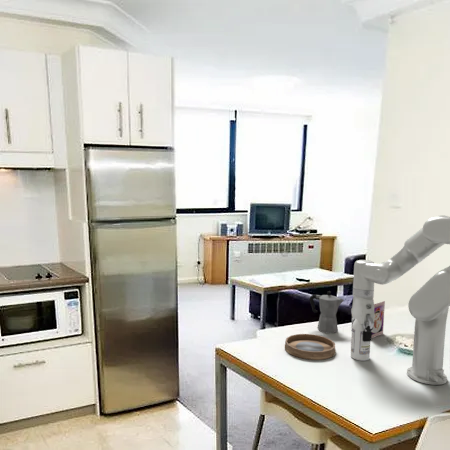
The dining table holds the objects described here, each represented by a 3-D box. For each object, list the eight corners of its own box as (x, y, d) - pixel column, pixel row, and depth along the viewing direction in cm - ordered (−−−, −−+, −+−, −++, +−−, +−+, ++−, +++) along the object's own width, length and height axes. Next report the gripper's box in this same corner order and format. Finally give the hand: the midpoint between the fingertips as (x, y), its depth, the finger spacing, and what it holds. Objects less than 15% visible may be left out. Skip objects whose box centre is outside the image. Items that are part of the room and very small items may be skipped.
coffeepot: (343, 328, 195) (345, 290, 193) (340, 335, 186) (342, 295, 184) (310, 323, 201) (311, 286, 199) (306, 329, 192) (307, 291, 190)
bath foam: (372, 357, 162) (375, 306, 160) (364, 362, 157) (367, 310, 155) (355, 352, 167) (358, 303, 165) (347, 357, 162) (349, 306, 160)
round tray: (343, 359, 160) (344, 351, 160) (292, 360, 158) (292, 353, 157) (324, 339, 180) (325, 333, 180) (279, 341, 177) (279, 334, 177)
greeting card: (370, 339, 181) (372, 305, 180) (355, 334, 187) (357, 301, 185) (384, 334, 188) (386, 301, 187) (369, 329, 194) (371, 297, 193)
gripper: (383, 298, 151) (381, 344, 153) (362, 287, 169) (360, 328, 170) (364, 299, 151) (361, 345, 152) (344, 287, 168) (342, 329, 169)
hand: (361, 336), depth 161 cm, fingers open, 9 cm apart
